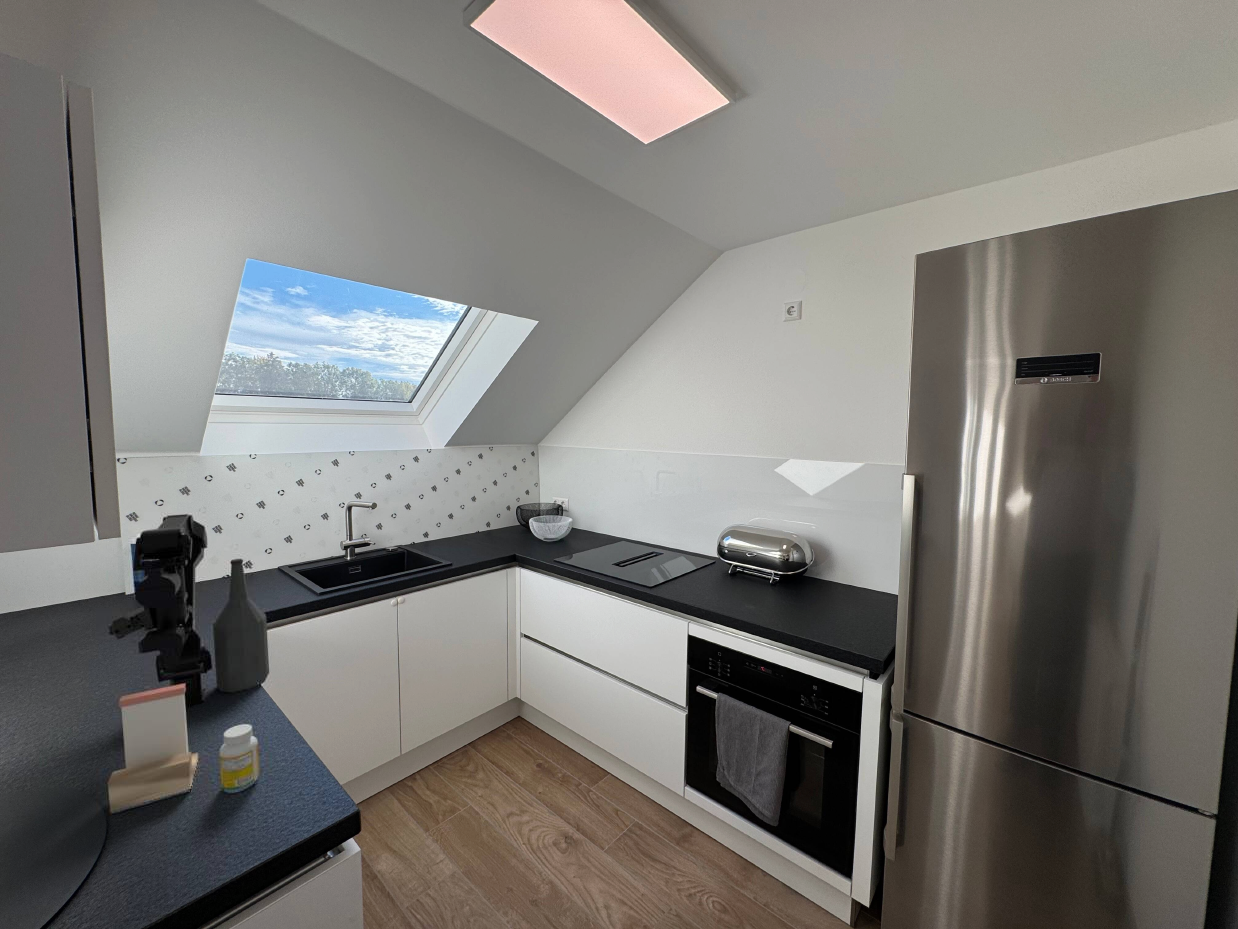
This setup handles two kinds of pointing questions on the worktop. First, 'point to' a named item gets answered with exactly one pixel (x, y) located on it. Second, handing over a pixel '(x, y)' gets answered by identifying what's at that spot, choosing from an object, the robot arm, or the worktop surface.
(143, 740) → the white red-topped panel
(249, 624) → the bottle
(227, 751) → the supplement bottle
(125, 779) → the oak key housing
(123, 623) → the robot arm
